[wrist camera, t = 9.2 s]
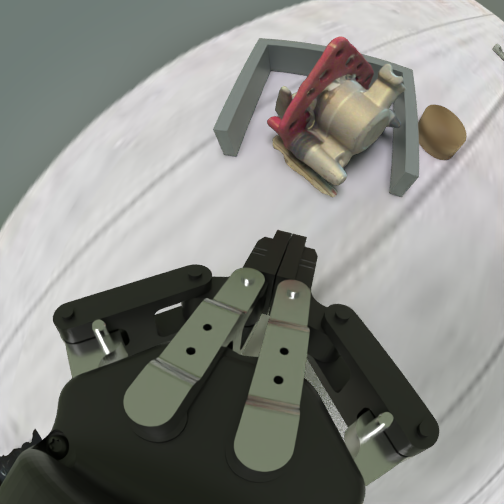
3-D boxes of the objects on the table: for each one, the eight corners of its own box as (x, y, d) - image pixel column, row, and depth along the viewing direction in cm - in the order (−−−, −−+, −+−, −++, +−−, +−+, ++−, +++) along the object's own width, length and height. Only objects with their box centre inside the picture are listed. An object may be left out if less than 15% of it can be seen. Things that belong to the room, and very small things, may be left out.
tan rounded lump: (452, 131, 22) (463, 116, 19) (455, 167, 21) (468, 153, 18) (414, 115, 23) (423, 98, 20) (414, 150, 22) (425, 133, 19)
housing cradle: (402, 93, 24) (412, 69, 20) (401, 197, 21) (418, 176, 17) (263, 63, 27) (259, 38, 23) (224, 154, 24) (213, 129, 20)
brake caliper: (315, 57, 23) (390, 16, 12) (368, 140, 27) (454, 138, 16) (230, 108, 23) (278, 63, 12) (297, 199, 27) (377, 221, 16)
